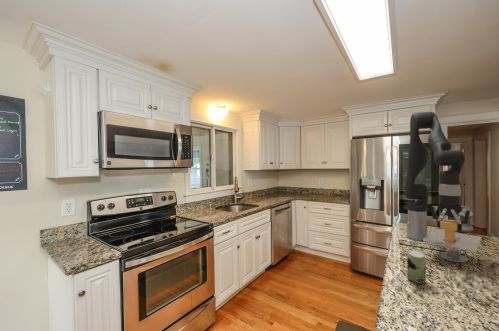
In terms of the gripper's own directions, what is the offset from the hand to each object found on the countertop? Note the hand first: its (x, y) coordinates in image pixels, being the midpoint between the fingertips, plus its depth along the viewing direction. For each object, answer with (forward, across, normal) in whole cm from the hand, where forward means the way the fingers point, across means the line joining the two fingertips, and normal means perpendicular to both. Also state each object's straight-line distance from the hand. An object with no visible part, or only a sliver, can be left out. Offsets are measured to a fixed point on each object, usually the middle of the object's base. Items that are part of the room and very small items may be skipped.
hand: (449, 230), depth 104 cm
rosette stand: (+16, 0, +5) cm, 17 cm away
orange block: (+8, 0, 0) cm, 8 cm away
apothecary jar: (+16, -3, +49) cm, 52 cm away
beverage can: (+16, -6, -28) cm, 33 cm away
